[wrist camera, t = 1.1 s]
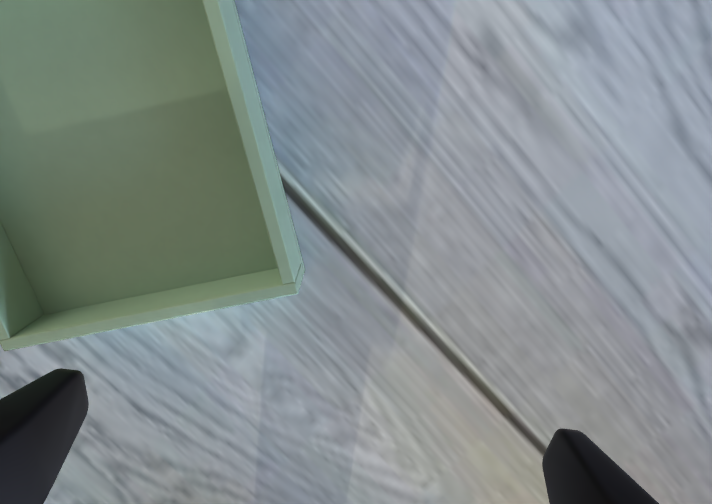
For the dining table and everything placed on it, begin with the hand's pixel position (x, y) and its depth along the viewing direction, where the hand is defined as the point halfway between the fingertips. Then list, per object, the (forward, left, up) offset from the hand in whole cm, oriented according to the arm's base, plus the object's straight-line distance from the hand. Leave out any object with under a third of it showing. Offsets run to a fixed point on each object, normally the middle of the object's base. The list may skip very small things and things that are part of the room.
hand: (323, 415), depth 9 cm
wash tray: (0, +11, -14) cm, 18 cm away
